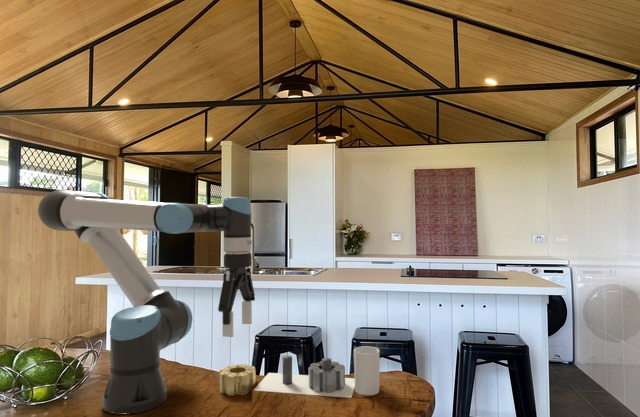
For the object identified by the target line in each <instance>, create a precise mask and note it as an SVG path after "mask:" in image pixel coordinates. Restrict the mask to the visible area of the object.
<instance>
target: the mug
mask: <svg viewBox="0 0 640 417" xmlns="http://www.w3.org/2000/svg"><path fill="white" fill-rule="evenodd" d="M380 359H381V357H380V349H379V348H377V347H374V346H367V345H366V346H364V345H363V346H357V347H355V348H354V349H353V367H354V368H353V369H354V372H353V375H354V378H355V388H354V391H355V392H356V393H357V394H359V395H361V396H374V395H377V394H378V393H380Z"/></svg>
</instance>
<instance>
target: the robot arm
mask: <svg viewBox="0 0 640 417" xmlns="http://www.w3.org/2000/svg"><path fill="white" fill-rule="evenodd" d="M37 214H38V217H39V219H40V221H41V222H42V224H43V225H45V227H47V228H49V229H51V230H54V231H61V232H63V231H64V232H70V231H71V232H72V231H73V232H74V233H75V235H76V236H77V237H78V239H79V240H80V241H81V242H82V243H83V244H84V243H86V244H89V245H90V246H91V247H92V249H93V251H95V253H96V255H97V256H98V257H99V259H100V260H101V262H102V263H103V265H104V267H106V269H107V271H108V273H110V275H111V276H112V278H113V279H114V281H115V282H116V283H117V285H118V286H119V289H120V290H121V291H122V292H123V294H124V295H125V297H126V298H127V300H128V301H129V302H130V304H131V305H132V307H127V308H125V309H121V310H119V311H118V312H116V313H114V315H113V316H112V318H111V320H110V329H109V335H110V341H109V342H110V345H109V346H110V349H109V350H110V373H109V374H110V376H109V378H108V381H107V383H106V387H105V390H104V393H103V396H102V406H103V407H102V410H103V409H105V410H106V411H109V412H114V413H127V414H126V415H129V414H128V413H135V414H140V413H143V412H147V411H150V410H153V409H154V408H157V407H159V406H161V405H162V404H163V403H165V401H166V400H167V398H168V397H167V396H168V394H167V393H168V391H167V390H168V388H167V385H166V383H165V380H164V377H163V374H162V371H161V368H160V367H161V366H160V363H161V362H160V360H161V357H160V354H161V353H160V352H161V350H164V349H165V348H167V347H169V346H171V345H174V344H176V343H178V342H180V341H181V340H182V339H183V338H185V337H186V336H187V335H188V334H189V332H190V331H191V328H192V323H193V313H192V310H191V308H190V307H189V306H188V304H187V303H186V302H184V301H183V300H178V299H175V298H174V297H173V295H172V294H171V293H170V291H169V290H167V289H166V290H165V289H161V288H160V286H158V283H156V281H155V279H154V278H153V276H152V275H151V274H150V272H149V271H148V270H147V268H146V267H145V265H144V264H143V262H142V261H141V259H140V258H139V257H138V256H137V254H136V253H135V251H134V250H133V248H132V247H131V246H130V244H129V243H128V242H127V240H126V239H125V236H124V235H123V234H122V233H121V232H120V230H134V231H136V230H137V231H147V232H148V231H149V232H150V231H151V232H162V233H166V234H172V235H174V234H175V235H176V234H177V235H178V234H179V235H180V234H185V233H186V234H187V233H199V232H200V233H201V232H223V252H224V254H223V267H224V268H226V269H227V268H228V269H229V270H228V272H224V273H223V279H222V280H223V281H222V287H221V290H220V298H219V301H218V302H219V303H218V308H217V310H218V312H219V313H220V312H222V317H221V318H222V337H225V338H233V337H234V311H233V310H232V309H233V307H234V304H235V303H234V302H235V300H236V297H237V293H238V290H239V291H240V295H241V297H242V299H243V300H242V301H241V324H242V325H252V323H253V318H252V317H253V316H252V315H253V314H252V313H253V312H252V310H253V308H252V307H253V306H252V303H253V302H254V301H255V299H256V298H255V295H256V294H255V290H254V285H253V279H252V275H251V274H252V273H251V266H252V253H250V252H251V251H252V245H253V244H254V242H253V240H252V214H253V213H252V206H251V200H250V198H248V197H246V196H244V197H243V196H230V197H229V196H225V197H224V198H223V202H222V203H221V204H195V203H192V204H191V203H181V202H158V201H141V200H140V201H139V200H127V199H126V200H125V199H124V200H123V199H122V200H121V199H112V198H111V197H110V196H108V195H106V194H104V193H100V192H97V191H81V190H80V191H78V190H69V189H68V190H67V189H58V190H54V191H51V192H49V193H47V194H45V196H43V197H42V198H41V200H40V201H39V204H38V207H37ZM252 301H253V302H252Z"/></svg>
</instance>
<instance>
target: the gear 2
mask: <svg viewBox="0 0 640 417" xmlns="http://www.w3.org/2000/svg"><path fill="white" fill-rule="evenodd" d="M307 370H308V372H307V373H308V374H307V375H308V382H309V388H313V389H314V391H316V392H319V393H320V392H321V391H322V392H327V393H334V391H337V390H340V391H341V390H342V389H344V385H345V378H346V366H345V364H340V362H338V361H331V370H322V360H321V361H319V362H313V363H310V365H309V367H308V368H307Z"/></svg>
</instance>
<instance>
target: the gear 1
mask: <svg viewBox="0 0 640 417" xmlns="http://www.w3.org/2000/svg"><path fill="white" fill-rule="evenodd" d="M256 372H257V370H256V367H255V366H254V365H248V364H247V363H246V364H245V363H241V364H230V365H227V366H225V367H222V368H220V369H219V392H220V393H221V394H227V396H232V397H233V396H235V395H237V396H238V395H239V396H244V395H249V393H250V392H252V386H254V385H255V384H256V383H257V382H256V378H257V377H256V375H257V374H256Z"/></svg>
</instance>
